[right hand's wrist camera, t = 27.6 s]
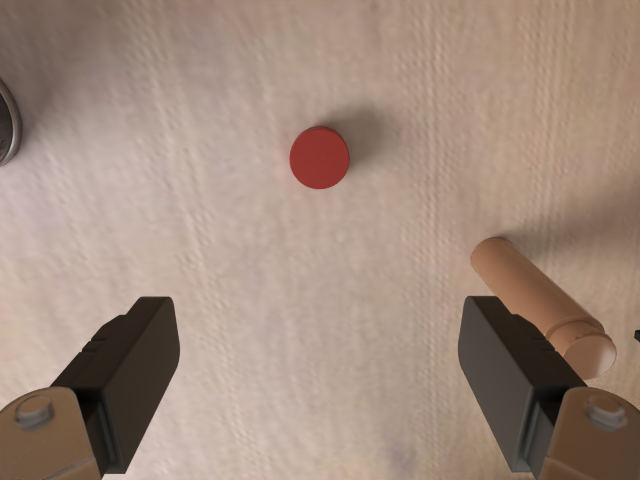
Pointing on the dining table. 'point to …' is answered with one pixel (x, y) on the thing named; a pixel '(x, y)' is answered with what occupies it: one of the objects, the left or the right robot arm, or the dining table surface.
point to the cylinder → (545, 307)
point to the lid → (319, 158)
